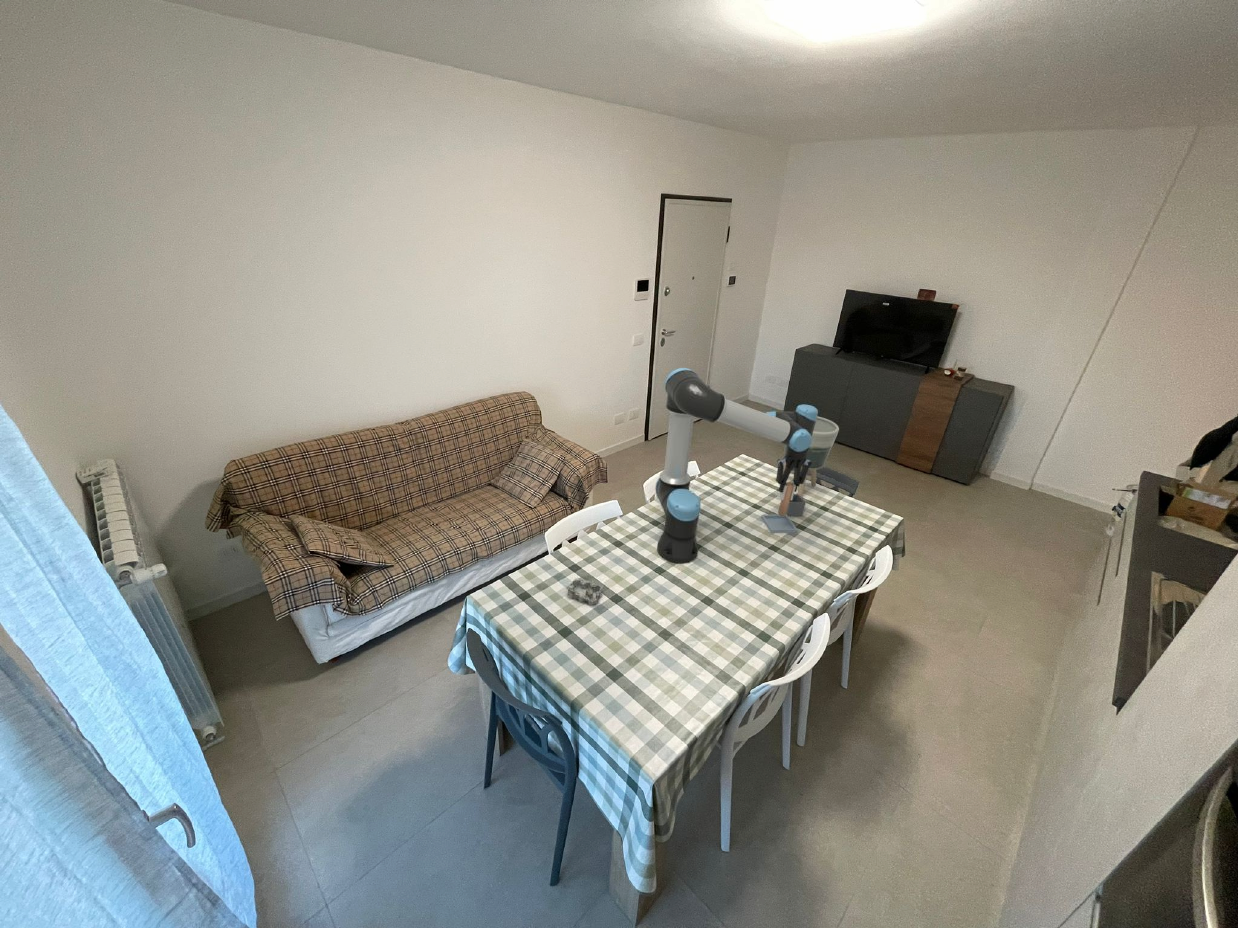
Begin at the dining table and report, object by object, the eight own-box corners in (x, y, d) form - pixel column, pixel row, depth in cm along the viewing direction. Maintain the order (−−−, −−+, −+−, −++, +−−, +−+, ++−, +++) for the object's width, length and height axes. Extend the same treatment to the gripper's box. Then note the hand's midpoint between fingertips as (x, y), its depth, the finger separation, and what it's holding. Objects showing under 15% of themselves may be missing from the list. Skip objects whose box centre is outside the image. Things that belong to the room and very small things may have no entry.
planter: (766, 476, 242) (780, 413, 226) (807, 476, 244) (824, 414, 229) (783, 500, 223) (800, 432, 207) (828, 499, 225) (848, 433, 210)
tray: (770, 534, 198) (771, 530, 197) (760, 518, 207) (761, 514, 207) (796, 533, 199) (797, 529, 198) (785, 518, 209) (786, 514, 208)
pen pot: (786, 517, 209) (789, 502, 206) (779, 508, 216) (783, 494, 212) (801, 517, 210) (805, 502, 207) (794, 508, 216) (798, 494, 213)
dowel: (779, 516, 199) (787, 486, 193) (776, 511, 202) (784, 482, 195) (786, 515, 199) (794, 485, 193) (783, 511, 202) (791, 482, 196)
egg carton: (564, 597, 159) (564, 587, 157) (575, 583, 165) (575, 573, 163) (594, 608, 156) (594, 598, 154) (604, 593, 162) (604, 583, 160)
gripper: (782, 449, 182) (770, 503, 193) (823, 449, 184) (808, 503, 195) (774, 441, 189) (762, 493, 200) (814, 441, 191) (800, 493, 202)
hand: (785, 498), depth 197 cm, fingers closed on dowel, 3 cm apart
